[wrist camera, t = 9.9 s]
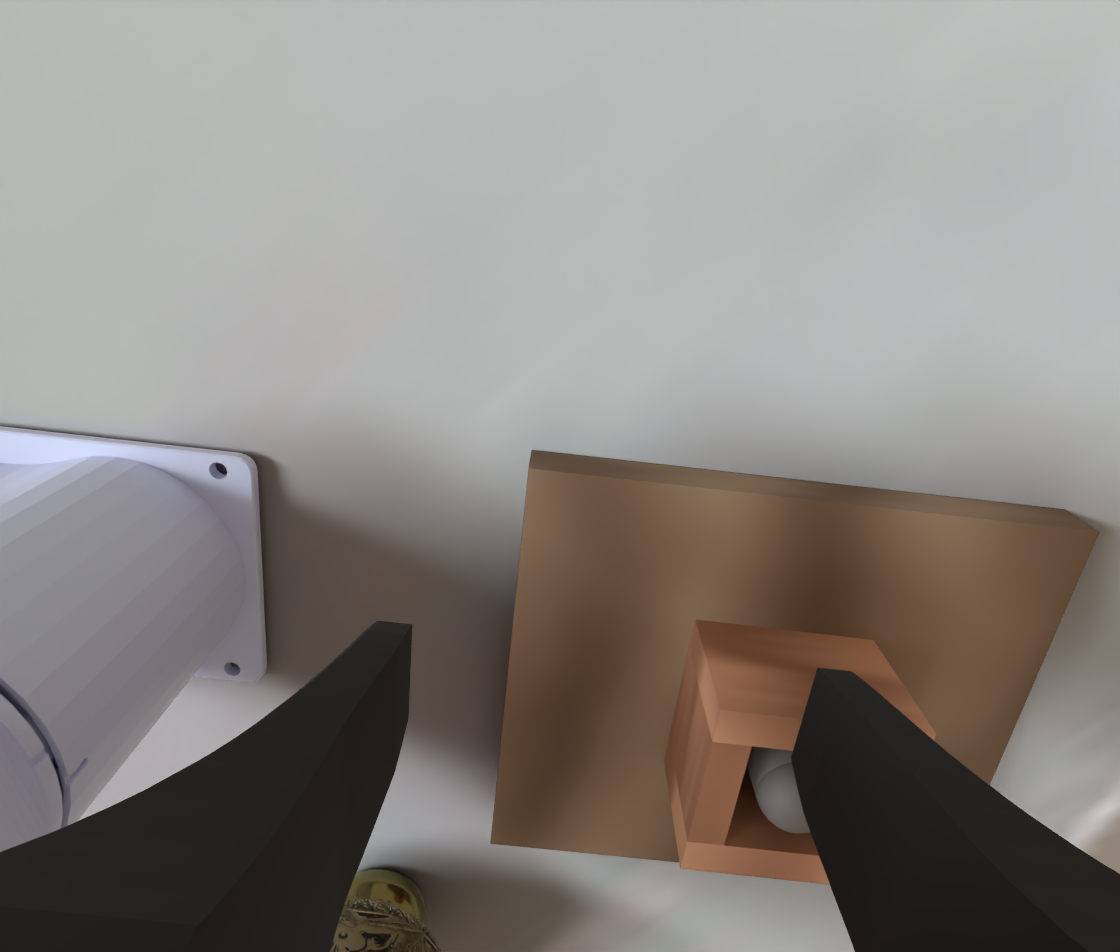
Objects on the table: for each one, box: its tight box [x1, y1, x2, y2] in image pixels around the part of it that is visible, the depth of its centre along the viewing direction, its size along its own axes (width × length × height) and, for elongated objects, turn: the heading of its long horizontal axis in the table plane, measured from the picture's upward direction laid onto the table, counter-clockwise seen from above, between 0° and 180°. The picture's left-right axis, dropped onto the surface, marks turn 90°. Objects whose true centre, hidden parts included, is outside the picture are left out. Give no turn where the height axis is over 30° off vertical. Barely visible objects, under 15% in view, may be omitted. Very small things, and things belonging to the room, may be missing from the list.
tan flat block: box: [491, 450, 1099, 862], centre depth 21 cm, size 16×14×6 cm
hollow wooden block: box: [664, 619, 936, 884], centre depth 20 cm, size 5×5×4 cm
